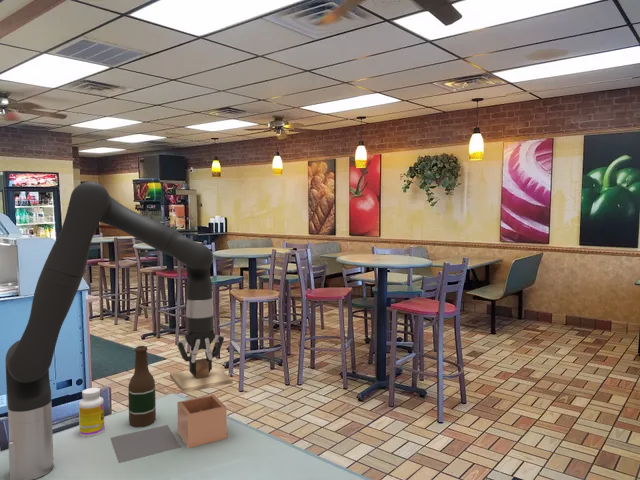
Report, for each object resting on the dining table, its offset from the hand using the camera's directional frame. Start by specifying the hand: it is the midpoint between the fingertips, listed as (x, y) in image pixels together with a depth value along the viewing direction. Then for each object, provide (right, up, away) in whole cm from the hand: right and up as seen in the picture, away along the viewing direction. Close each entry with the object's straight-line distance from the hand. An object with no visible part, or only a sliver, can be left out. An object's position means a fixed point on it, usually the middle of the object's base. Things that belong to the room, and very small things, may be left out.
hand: (200, 372), depth 135 cm
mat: (-15, -19, -3) cm, 24 cm away
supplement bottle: (-33, -19, +3) cm, 38 cm away
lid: (0, -2, 0) cm, 2 cm away
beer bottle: (-20, -19, +10) cm, 29 cm away
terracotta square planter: (0, -19, +1) cm, 19 cm away
